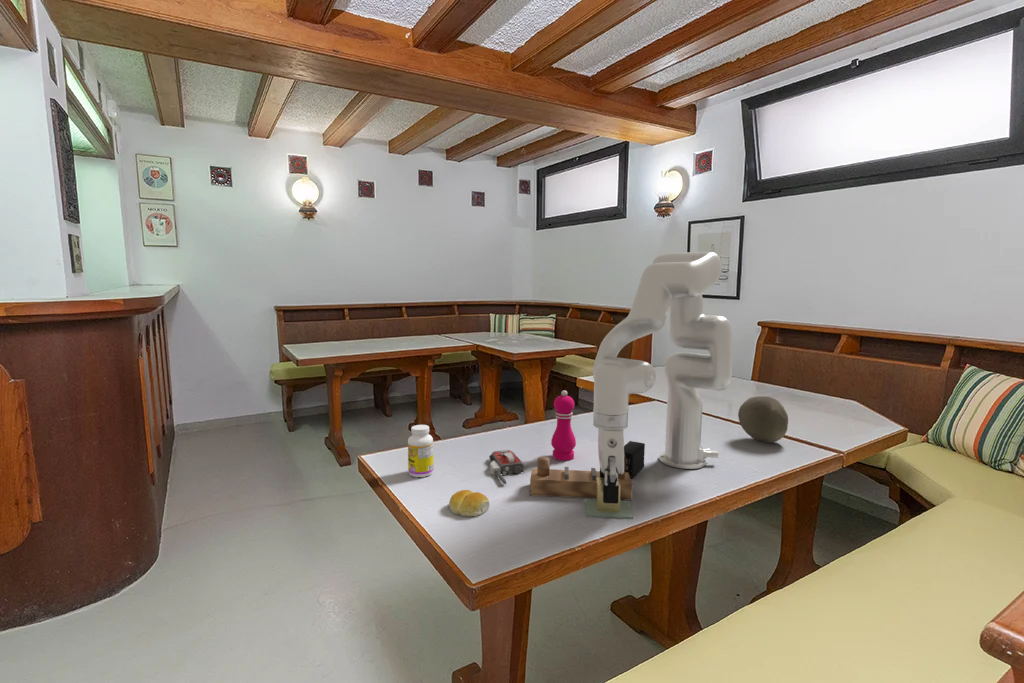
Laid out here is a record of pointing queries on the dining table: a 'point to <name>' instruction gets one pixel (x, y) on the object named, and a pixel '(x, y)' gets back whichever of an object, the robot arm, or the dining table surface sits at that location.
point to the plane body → (571, 482)
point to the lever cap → (599, 498)
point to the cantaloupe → (763, 419)
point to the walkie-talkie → (505, 464)
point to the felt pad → (592, 512)
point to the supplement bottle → (420, 452)
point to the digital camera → (634, 458)
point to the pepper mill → (563, 428)
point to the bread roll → (468, 503)
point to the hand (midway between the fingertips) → (608, 493)
